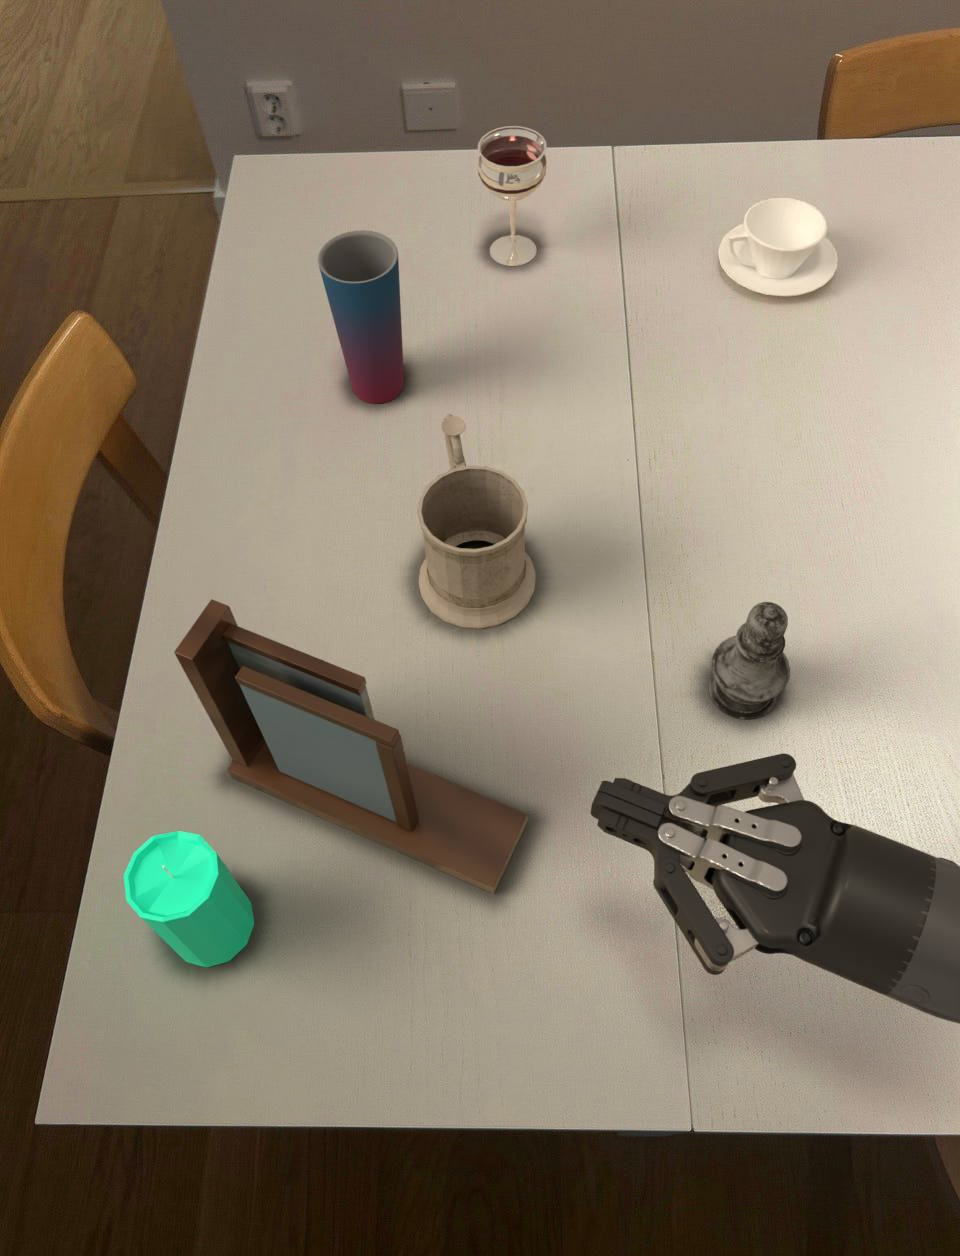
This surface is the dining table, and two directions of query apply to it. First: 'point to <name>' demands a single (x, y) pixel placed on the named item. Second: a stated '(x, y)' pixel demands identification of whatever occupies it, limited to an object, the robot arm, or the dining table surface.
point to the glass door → (332, 747)
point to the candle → (189, 898)
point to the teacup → (780, 249)
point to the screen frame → (448, 813)
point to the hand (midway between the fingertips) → (596, 797)
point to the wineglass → (512, 182)
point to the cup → (366, 310)
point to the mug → (466, 511)
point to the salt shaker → (751, 664)
